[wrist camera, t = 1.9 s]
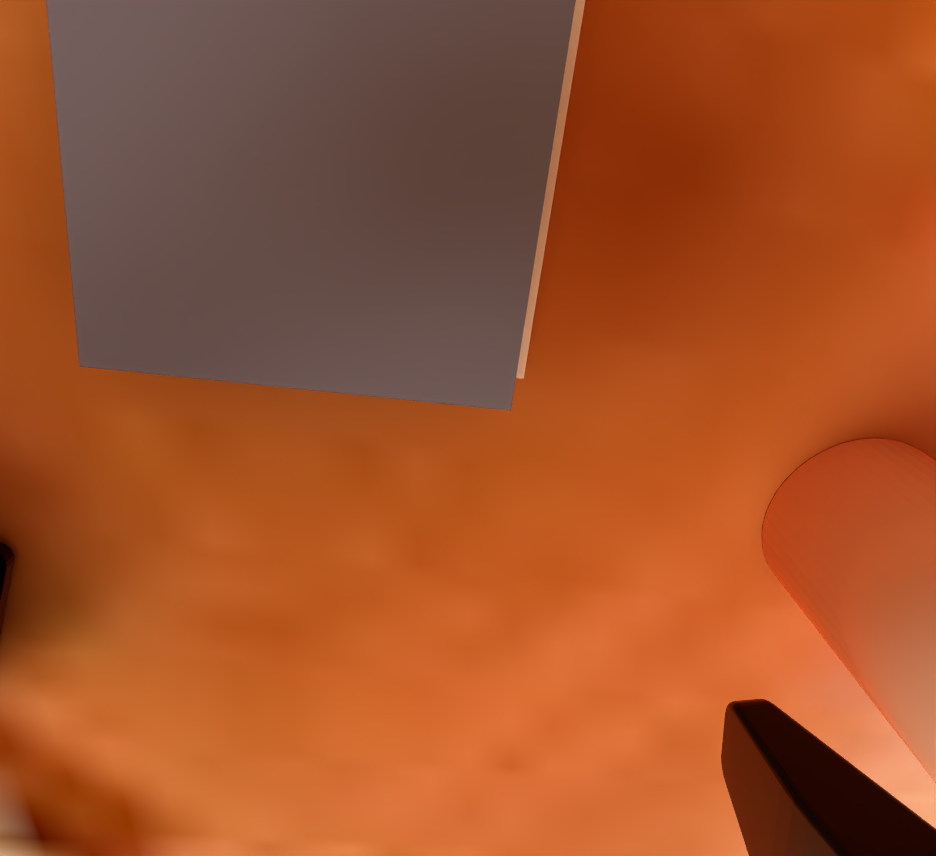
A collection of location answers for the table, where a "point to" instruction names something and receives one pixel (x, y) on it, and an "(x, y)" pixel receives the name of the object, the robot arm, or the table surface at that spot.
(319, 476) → the table surface
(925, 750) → the pen cup
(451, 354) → the gray book
